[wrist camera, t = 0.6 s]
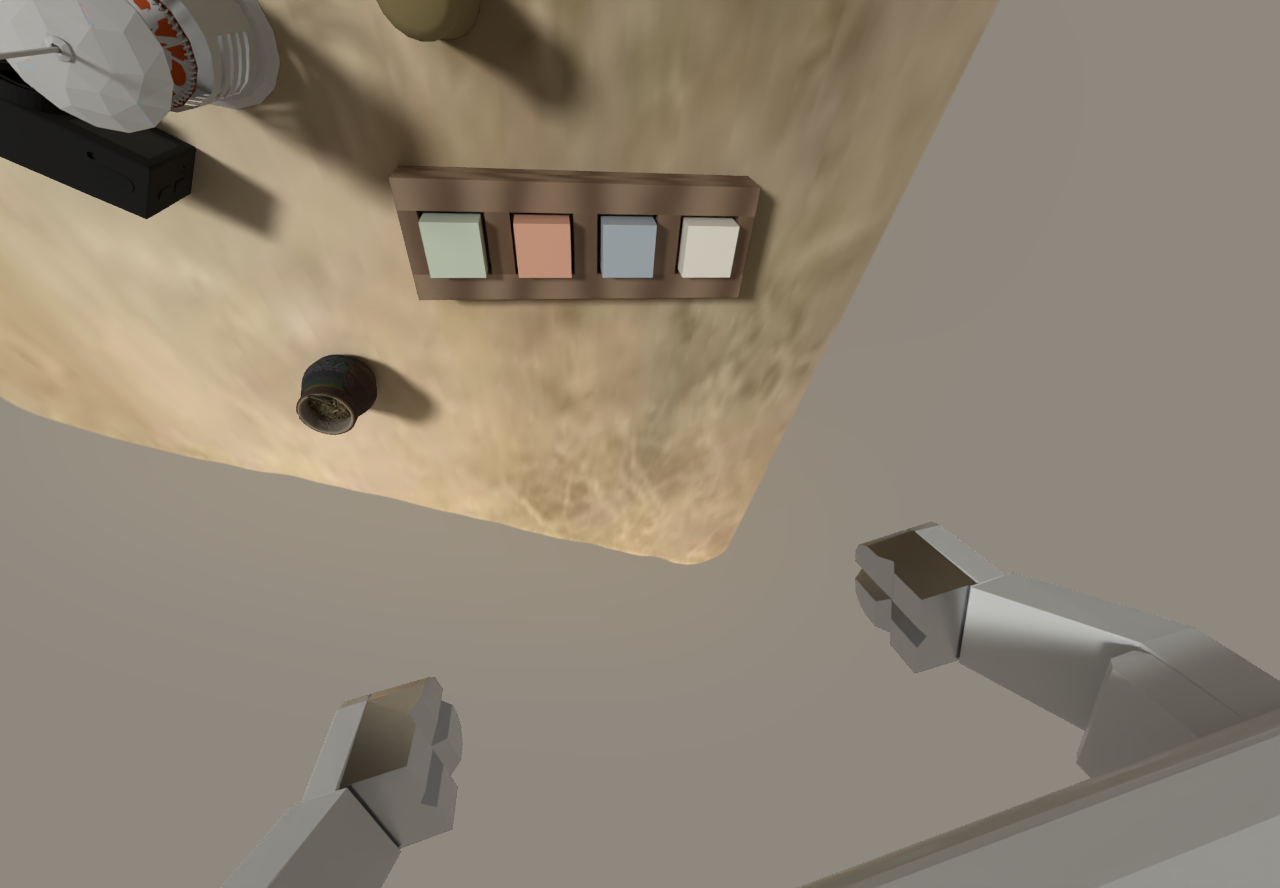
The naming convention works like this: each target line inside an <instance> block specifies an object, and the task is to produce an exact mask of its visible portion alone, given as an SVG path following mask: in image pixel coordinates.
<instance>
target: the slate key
mask: <svg viewBox="0 0 1280 888" xmlns="http://www.w3.org/2000/svg"><path fill="white" fill-rule="evenodd" d="M656 232H657V225H656V223H655V220H654V218H653V217H648V216H601V245H600V268H601V273H602V278H653V268H654V256H655V244H656Z"/></svg>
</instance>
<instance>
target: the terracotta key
mask: <svg viewBox="0 0 1280 888" xmlns="http://www.w3.org/2000/svg"><path fill="white" fill-rule="evenodd" d="M513 226H514V236H515V245H516V255H517V265H518V274H519V278H572V274H571V241H570V220H569V215H531V214H514V221H513Z"/></svg>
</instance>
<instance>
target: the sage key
mask: <svg viewBox="0 0 1280 888" xmlns="http://www.w3.org/2000/svg"><path fill="white" fill-rule="evenodd" d="M418 223H419V228H420V232H421V236H422V241H423V245H424V250H425V254H426V259H427V263H428V267H429V272H430V276H431V278H486V277H487V272H488V261H487V254H486V247H485V240H484V233H483V226H482V219H481V214H473V213H423V214H422V216H421V218H420V220H419V222H418Z"/></svg>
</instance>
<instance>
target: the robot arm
mask: <svg viewBox="0 0 1280 888" xmlns="http://www.w3.org/2000/svg"><path fill="white" fill-rule="evenodd" d="M856 562H857V563H858V564H859V565H860V566H861V568H862V569H861V571H860V572H859V574H858V575H857V577H856V579H855V581H856V593H857V596H858V599H859V602H860V605H861V607H862V608H863V610H864V612H865V613H866V615H867V616H868V618H869V619H870V620H871V622H872V623H873V624H874V625H875V626H877V627H879V628H881V629H883V630H886V631H888V632H890V644H891V646H892V647H893V648H894V649H895V651H896V652H897V653H898V654H899V655H900V657H901V658H902V659H903V660H904V661H905V662H906V664H907V665H908V666H909V667H910V668H911V669H912V671H913V672H914V673H918V672H921V671H925V670H928V669H931V668H934V667H938V666H941V665H944V664H948V663H951V662H954V661H957V660H959V663H960V664H962V665H964V666H966V667H968V668H970V669H972V670H973V671H975V672H977V673H979V674H981V675H983V676H984V677H986V678H988V679H990V680H992V681H994V682H995V683H998V684H999V685H1001V686H1003V687H1005V688H1007V689H1008V690H1010V691H1012V692H1014V693H1016V694H1018V695H1020V696H1021V697H1023V698H1025V699H1027V700H1029V701H1031V702H1033V703H1034V704H1036V705H1038V706H1040V707H1042V708H1044V709H1045V710H1047V711H1049V712H1051V713H1053V714H1055V715H1057V716H1058V717H1060V718H1062V719H1064V720H1066V721H1068V722H1070V723H1071V724H1074V725H1075V726H1077V727H1079V728H1081V729H1083V730H1084V731H1085V732H1084V735H1083V737H1082V740H1081V743H1080V746H1079V748H1078V751H1077V764H1078V765H1079V766H1080V767H1081V768H1082V770H1083V771H1084V772H1085V773H1086V774H1087V775H1088V776H1089V777H1090V779H1088V780H1085V781H1082V782H1080V783H1077V784H1074V785H1072V786H1069V787H1067V788H1064V789H1061V790H1058V791H1056V792H1053V793H1050V794H1048V795H1045V796H1042V797H1039V798H1037V799H1034V800H1031V801H1029V802H1026V803H1023V804H1021V805H1018V806H1015V807H1012V808H1010V809H1007V810H1005V811H1002V812H999V813H996V814H994V815H991V816H988V817H986V818H983V819H980V820H978V821H975V822H972V823H970V824H967V825H965V826H961V827H959V828H956V829H953V830H951V831H948V832H945V833H943V834H940V835H937V836H935V837H932V838H929V839H926V840H924V841H921V842H918V843H916V844H913V845H910V846H908V847H905V848H902V849H900V850H897V851H894V852H892V853H889V854H886V855H883V856H881V857H878V858H875V859H873V860H870V861H867V862H865V863H862V864H859V865H857V866H854V867H851V868H848V869H846V870H843V871H840V872H838V873H835V874H832V875H830V876H827V877H824V878H822V879H819V880H816V881H814V882H811V883H808V884H806V885H803V886H800V887H797V888H1280V681H1279V680H1277V679H1275V678H1274V677H1272V676H1271V675H1269V674H1268V673H1266V672H1264V671H1263V670H1261V669H1260V668H1258V667H1257V666H1255V665H1253V664H1252V663H1250V662H1248V661H1247V660H1246V659H1244V658H1242V657H1241V656H1239V655H1238V654H1236V653H1234V652H1233V651H1231V650H1230V649H1228V648H1227V647H1225V646H1223V645H1222V644H1220V643H1218V642H1217V641H1215V640H1214V639H1212V638H1211V637H1209V636H1207V635H1206V634H1204V633H1203V632H1201V631H1200V630H1198V629H1196V628H1195V627H1192V626H1189V625H1185V624H1182V623H1179V622H1175V621H1172V620H1168V619H1165V618H1162V617H1159V616H1156V615H1152V614H1149V613H1145V612H1142V611H1139V610H1135V609H1132V608H1129V607H1126V606H1123V605H1119V604H1116V603H1112V602H1109V601H1105V600H1103V599H1099V598H1096V597H1093V596H1089V595H1086V594H1083V593H1079V592H1076V591H1072V590H1070V589H1066V588H1063V587H1060V586H1056V585H1053V584H1050V583H1046V582H1043V581H1040V580H1036V579H1033V578H1030V577H1026V576H1023V575H1020V574H1017V573H1009V574H1006V575H1005V574H1004V573H1002V572H1001V571H1000V570H999V569H997V568H996V567H995V566H993V565H992V564H990V563H989V562H988V561H987V560H985V559H984V558H982V557H981V556H980V555H979V554H977V553H976V552H975V551H974V550H972V549H971V548H970V547H968V546H967V545H965V544H964V543H963V542H962V541H960V540H959V539H958V538H956V537H955V536H954V535H953V534H951V533H950V532H949V531H947V530H946V529H945V528H943V527H942V526H941V525H939V524H937V523H934V522H929V523H925V524H922V525H919V526H916V527H913V528H910V529H907V530H905V531H900V532H897V533H894V534H891V535H888V536H884V537H881V538H878V539H875V540H872V541H869V542H866V543H863V544H860V545H858V547H857V549H856ZM442 691H443V688H442V687H441V685H440V684H439V682H438V681H437V679H436V678H435V677H428V678H425V679H421V680H417V681H414V682H410V683H407V684H403V685H400V686H396V687H393V688H389V689H386V690H382V691H378V692H375V693H373V694H370V695H366V696H362V697H359V698H355V699H352V700H348V701H345V702H344V703H343V704H342V705H341V706H340V707H339V708H338V709H337V711H336V713H335V716H334V718H333V721H332V724H331V726H330V729H329V731H328V734H327V737H326V739H325V742H324V745H323V747H322V750H321V752H320V755H319V758H318V761H317V763H316V766H315V768H314V771H313V773H312V776H311V779H310V781H309V784H308V786H307V789H306V792H305V794H304V797H303V800H302V802H300V803H297V804H294V805H292V806H291V807H290V808H289V809H288V810H287V811H286V813H285V814H284V815H283V816H282V817H281V818H280V819H279V821H278V822H277V823H276V824H275V825H274V826H273V827H272V829H271V830H270V831H269V832H268V833H267V834H266V835H265V837H264V838H263V839H262V840H261V841H260V842H259V844H258V845H257V846H256V847H255V848H254V849H253V850H252V852H251V853H250V854H249V855H248V856H247V857H246V858H245V860H244V861H243V862H242V863H241V864H240V865H239V866H238V868H237V869H236V870H235V871H234V872H233V873H232V874H231V876H230V877H229V878H228V879H227V880H226V881H225V882H224V884H223V885H222V886H221V887H220V888H381V887H382V885H383V883H384V882H385V879H386V878H387V876H388V874H389V873H390V871H391V869H392V867H393V865H394V864H395V862H396V860H397V858H398V856H399V855H400V853H401V851H400V849H401V848H403V847H406V846H409V845H411V844H414V843H417V842H419V841H422V840H425V839H428V838H430V837H433V836H436V835H438V834H441V833H444V832H447V831H449V830H452V829H453V821H454V812H455V804H456V796H457V788H458V787H457V785H456V783H455V782H454V780H453V779H452V777H451V774H452V773H453V771H454V770H455V768H456V767H457V765H458V764H459V762H460V761H461V754H462V732H461V724H460V721H459V718H458V715H457V713H456V711H455V709H454V707H453V705H451V704H449V703H446V702H444V701H441V697H442Z"/></svg>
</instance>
